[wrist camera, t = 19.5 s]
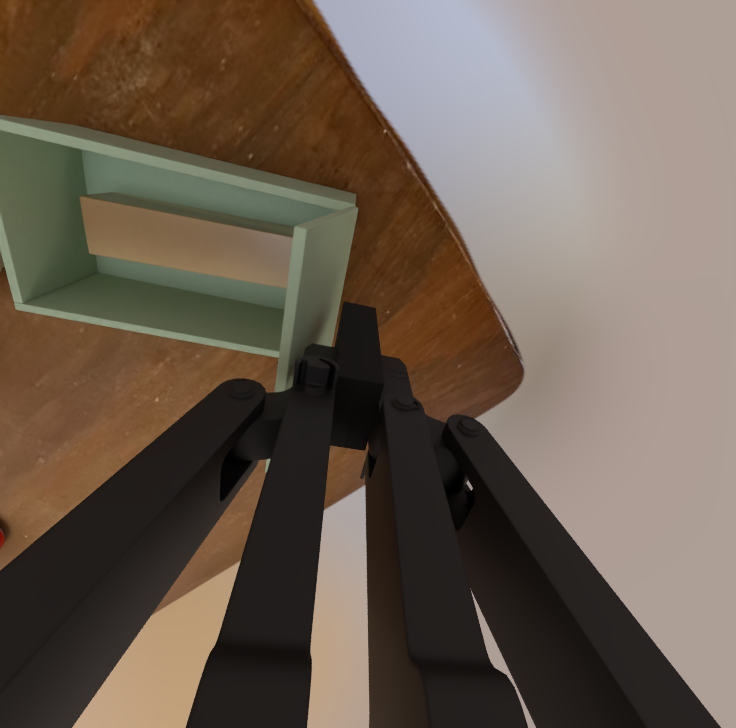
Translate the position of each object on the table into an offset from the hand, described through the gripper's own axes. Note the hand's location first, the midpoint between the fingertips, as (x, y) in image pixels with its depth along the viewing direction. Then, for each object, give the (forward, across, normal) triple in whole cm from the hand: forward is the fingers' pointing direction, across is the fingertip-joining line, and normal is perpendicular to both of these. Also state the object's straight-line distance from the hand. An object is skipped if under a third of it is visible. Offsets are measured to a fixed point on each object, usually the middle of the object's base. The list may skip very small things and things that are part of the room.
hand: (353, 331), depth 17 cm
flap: (0, -2, 0) cm, 2 cm away
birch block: (+12, -10, 0) cm, 16 cm away
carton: (+13, -10, 0) cm, 16 cm away
